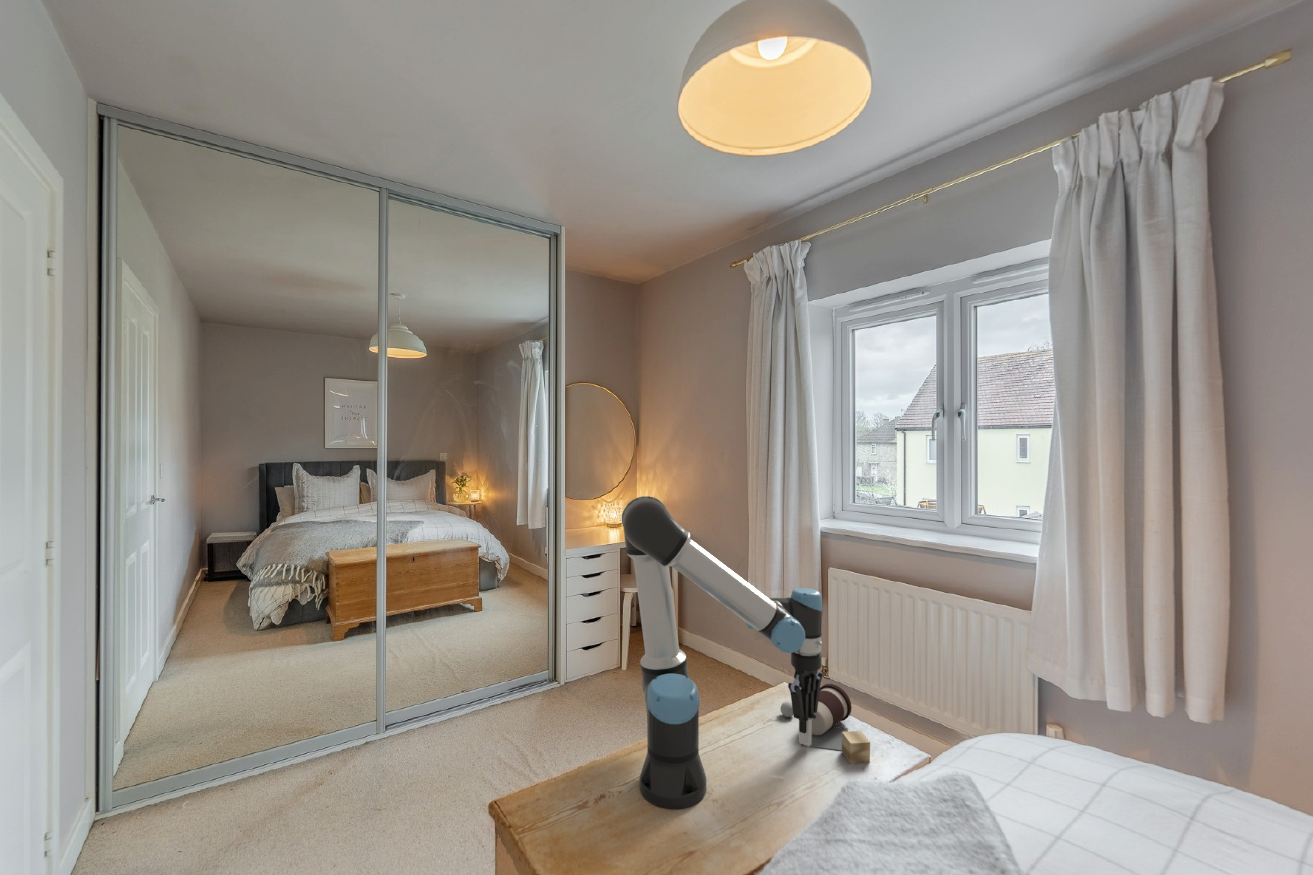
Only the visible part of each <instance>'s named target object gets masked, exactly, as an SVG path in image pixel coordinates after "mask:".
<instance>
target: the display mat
mask: <svg viewBox="0 0 1313 875" xmlns="http://www.w3.org/2000/svg"><path fill="white" fill-rule="evenodd" d="M842 732H849V730H848V727H840V726H836V725H835V726H834V727H833V728H831V729H830V730H827V731H826V732H824V733H823V734H822V735H813V734H812V744H811V745H810V746H809V748H819V749H824V750H831V751H832V750H833V751H838V752H842ZM801 746H802V747H807V746H806V745H804V744H801Z"/></svg>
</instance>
